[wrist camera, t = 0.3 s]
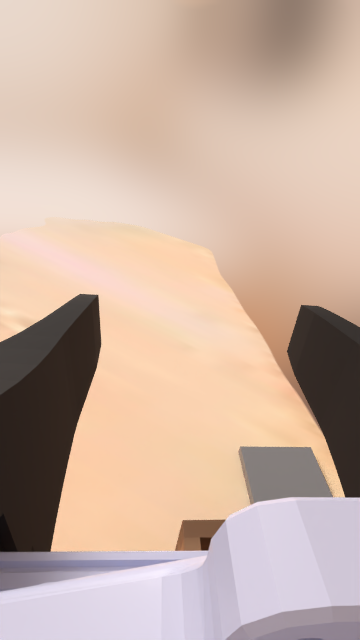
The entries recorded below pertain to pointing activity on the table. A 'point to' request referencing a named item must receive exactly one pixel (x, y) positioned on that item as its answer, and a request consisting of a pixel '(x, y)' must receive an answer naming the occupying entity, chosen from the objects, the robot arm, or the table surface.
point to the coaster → (282, 473)
